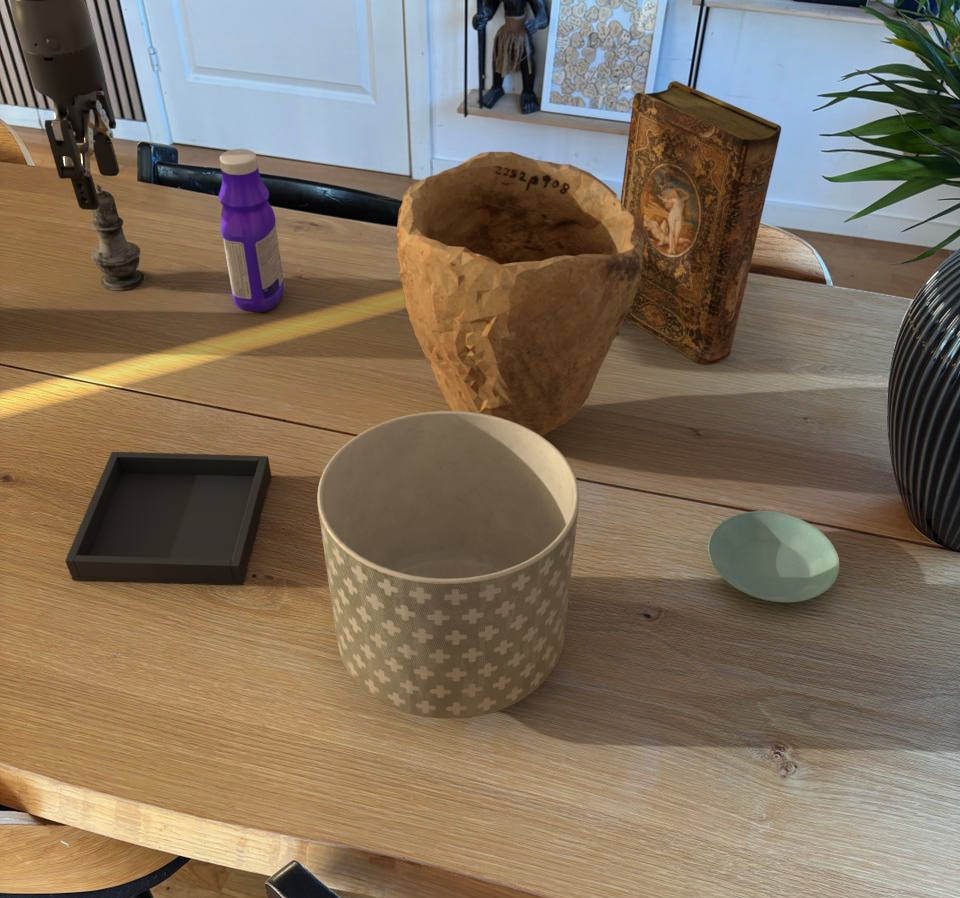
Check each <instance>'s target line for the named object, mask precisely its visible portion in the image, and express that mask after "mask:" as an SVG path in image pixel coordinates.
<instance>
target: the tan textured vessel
mask: <svg viewBox="0 0 960 898" xmlns="http://www.w3.org/2000/svg"><path fill="white" fill-rule="evenodd" d="M397 217H398V218H397V226H396V239H397V247H396V254H397V260H398V266H399V272H398V273H399V282H400V283H401V286H402V290H403V293H404V298H405V299H404V300H405V308H406V311H407V314H408V318H409V322H410V325H411V326H412V329H413V332H414V335H415V337H416V339H417V341H418V343H419V346H420V347H421V350H422V352H423V354H424V356H425V357H426V360H427V361H428V363H429V365H430V366H431V367H430V368H431V371H432V373H433V376H434V377H435V380H436V382H437V386H438V387H439V390H440V391H441V394H442V396H443V399H444V400H445V402H446V404H447V405H448V406H449V408H450V410H451V411H463V412H473V413H480V414H486V415H491V416H495V417H499V418H502V419H506V420H509V421H512V422H514V423H517V424H519V425H522V426H524V427H526V428H528V429H530V430H532V431H534V432H535V433H537V434H539V435H540V436H542V437H544V436H545V435H546V434H548V433H550V432H552V431H553V430H555V429H556V428H559V427H561V426H563V425H564V424H566V423H567V422H568V421H569V420H571V419H572V418H573V417H574V415H575V414H576V413H578V411H579V410H580V409H581V408H582V407H583V406H584V405H585V403H586V401H587V400H588V398H589V396H590V394H591V391H592V389H593V386H594V383H595V381H596V379H597V376H598V373H599V371H600V369H601V367H602V365H603V364H604V361H605V358H606V357H607V354H608V353H609V350H610V348H611V347H612V343H613V341H614V340H615V338H616V337H617V336H618V334H619V332H620V330H621V327H622V326H623V323H624V321H625V320H626V318H625V317H626V316H627V314H628V312H629V310H630V308H631V306H632V304H633V301H634V298H635V295H636V293H637V290H638V286H639V283H640V279H641V273H642V270H643V253H644V250H645V240H644V234H643V227H642V224H641V222H640V221H639V219H638V218H637V217H636V216H634V215H633V214H631V213H629V212H628V211H627V210H626V208H625V207H624V206H623V205H622V204H621V199H620V198H619V196H618V194H617V193H616V192H615V191H614V190H613V189H612V188H611V187H610V186H608V185H607V184H606V183H604V182H603V181H602V180H600V179H599V178H598V177H596V176H595V175H594V174H592V173H591V172H589V171H586V170H584V169H581V168H579V167H577V166H575V165H571V164H570V163H568V164H567V163H556V162H552V161H547V160H540V159H534V158H531V157H527V156H524V155H521V154H518V153H515V152H514V151H513V152H512V151H486V152H480V153H479V154H476V155H474V156H472V157H470V158H468V159H466V160H465V161H464V162H462V163H461V164H459V165H456V166H454V167H451V168H448V169H445V170H442V171H440V172H439V173H437V174H436V173H435V174H433V175H432V174H431V175H429V176H427V177H425V178H423V179H421V180H418V181H417V182H415V183H413V184H411V185H410V187H409V188H408V189H407V190H406V191H405V192H404V193H403V195H402V202H401V204H400V207H399V209H398V215H397Z"/></svg>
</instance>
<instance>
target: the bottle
mask: <svg viewBox="0 0 960 898" xmlns="http://www.w3.org/2000/svg"><path fill="white" fill-rule="evenodd" d="M219 165H220V170H221V187H220V190H219V192H218V201H219V203H220V205H222V207H221V215H220V232H221V236H222V242H223V248H224V253H225V258H226V264H227V270H228V277H229V282H230V288H231V295H232V298H233V301H234V303H235V306H236V307H237V308H238V309H240V310H242V311H248V312H254V313H265V312H269V311H270V310H272V309H274V307H276V306H277V305H278V304H279V302H280V301H281V300H282V297H283V295H284V290H285V280H284V273H283V266H282V259H281V252H280V246H279V245H280V243H279V237H278V230H277V223H276V220H277V219H276V214H275V212H274V210H273V207H272V206H271V204H270V202H269V198H270V192H269V189H268V188H267V186H266V185H265V184H264V182H263V180H262V178H261V174H260V169H259V164H258V157H257V154H256V153H255V152H254V151H253V150H251V149H247V148H236V149H235V148H233V149H230V150H226V151H225V152H223V153H221V154H220V155H219Z"/></svg>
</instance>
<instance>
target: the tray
mask: <svg viewBox="0 0 960 898" xmlns="http://www.w3.org/2000/svg"><path fill="white" fill-rule="evenodd" d="M269 460H270V459H269V456H268V455H247V454H246V455H245V454H243V455H242V454H213V453H212V454H211V453H210V454H205V453H174V452H173V453H172V452H139V451H138V452H137V451H135V452H134V451H111V452H110V455H109V458H108V460H107V462H106V464H105V467H104V469H103V471H102V474H101V476H100V477H99V480H98V483H97V485H96V487H95V490H94V492H93V495H92V497H91V498H90V502H89V504H88V506H87V508H86V511H85V513H84V515H83V518H82V521H81V523H80V524H79V527H78V529H77V532H76V535H75V536H74V539H73V541H72V543H71V546H70V548H69V550H68V552H67V555H66V557H65V560H64V562H65V564H66V568H67V569H68V572H69V574H70V576H71V579H72V581H79V582H81V581H84V582H85V581H86V582H114V583H115V582H117V583H118V582H119V583H147V584H149V583H150V584H151V583H152V584H153V583H154V584H183V585H184V584H186V585H188V584H189V585H221V586H244V585H245V581H246V578H247V574H248V569H249V565H250V561H251V559H252V558H251V557H252V553H253V549H254V547H255V546H254V545H255V542H256V538H257V534H258V530H259V527H260V526H259V525H260V522H261V518H262V514H263V511H264V507H265V502H266V499H267V495H268V492H269V491H268V490H269V487H270V483H271V480H272V471H271V466H270V461H269Z"/></svg>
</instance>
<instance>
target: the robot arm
mask: <svg viewBox="0 0 960 898" xmlns="http://www.w3.org/2000/svg"><path fill="white" fill-rule="evenodd" d="M9 4H10V10H11V15H12V20H13V23H14V26H15V29H16V32H17V36H18V39H19V42H20V45H21V46H20V47H21V49H22V52H23V53H22V54H23V56H24V59H25V62H26V65H27V69H28V72H29V76H30V78H31V81H32V85H33V88H34V89H35V90H36V91H37V93H39V94H40V95H42V96H45V97H47V98H49V99H50V100H51V101H52V103H53V108H54V119H45V120H44V128H45V132H46V136H47V139H48V143H49V146H50V150H51V154H52V157H53V159H54V160H53V161H54V164H55V167H56V171H57V174H58V177H59V179H64V180H67V179H68V180H69V179H70V181H71V184H72V188H73V191H74V194H75V198H76V201H77V205H78V207H79V208H80V209H81V210H87V211H88V210H89V211H92V210H96V209H97V208H98V207H99V205H100V203H99V199H98V196H97V192H96V191H97V189H95V188H96V185H95V181H94V178H93V175H92V174H91V173H92V172H91V157H92V156H93V155H94V157H95V161H96V164H97V168H98V171H99V174H100V175H102V176H104V177H117V176H118V174H119V173H120V167H119V163H118V159H117V156H116V153H115V152H116V151H115V148H114V145H113V141H114V132H113V130H116V128H117V121H116V118H115V115H114V111H113V108H112V103H111V100H110V97H109V94H108V89H107V85H106V75H105V72H104V66H103V63H102V60H101V54H100V52H99V48H98V43H97V39H96V36H95V32H94V29H93V23H92V21H91V17H90V13H89V9H88V7H87V3H86V1H85V0H9Z"/></svg>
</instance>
